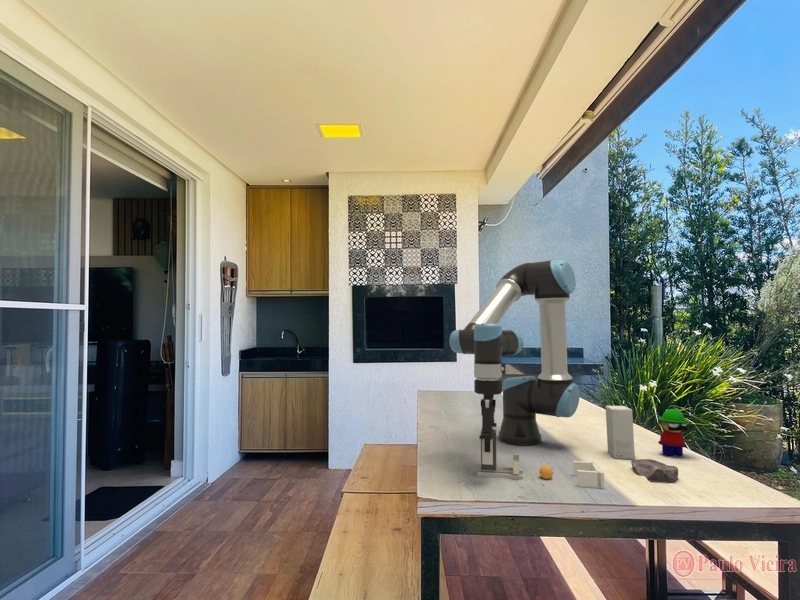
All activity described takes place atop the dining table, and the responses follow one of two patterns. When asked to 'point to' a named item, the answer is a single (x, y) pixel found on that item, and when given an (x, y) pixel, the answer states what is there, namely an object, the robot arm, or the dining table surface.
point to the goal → (588, 474)
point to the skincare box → (620, 432)
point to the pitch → (500, 474)
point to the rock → (655, 470)
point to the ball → (546, 472)
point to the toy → (673, 433)
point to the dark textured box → (493, 467)
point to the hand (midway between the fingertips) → (488, 457)
